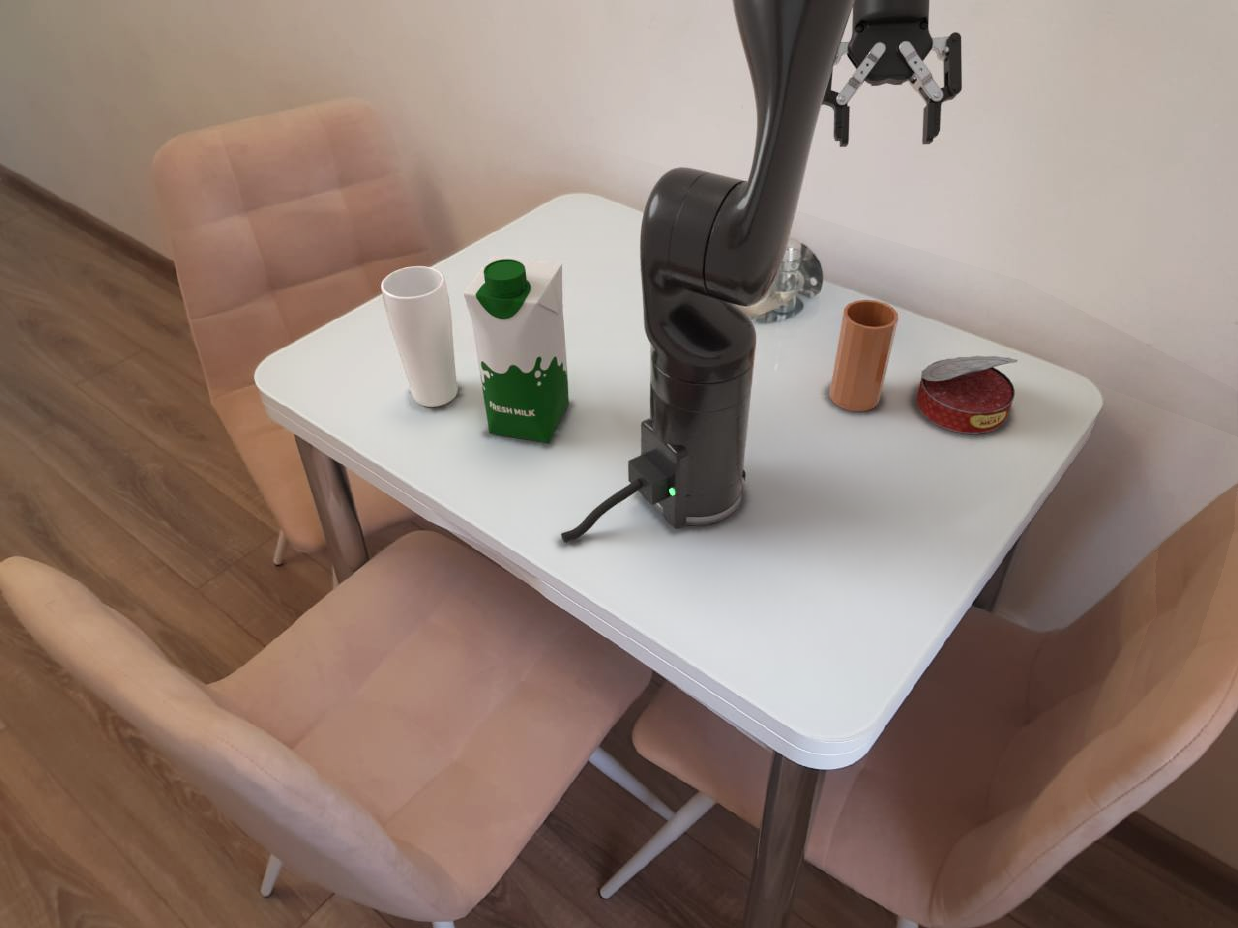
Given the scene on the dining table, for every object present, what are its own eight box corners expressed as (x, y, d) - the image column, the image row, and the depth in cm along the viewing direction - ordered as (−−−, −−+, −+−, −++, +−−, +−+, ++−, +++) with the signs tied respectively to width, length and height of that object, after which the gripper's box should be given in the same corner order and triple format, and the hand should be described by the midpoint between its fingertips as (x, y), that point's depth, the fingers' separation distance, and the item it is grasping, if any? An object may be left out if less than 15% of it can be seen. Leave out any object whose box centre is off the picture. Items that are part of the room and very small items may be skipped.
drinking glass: (402, 383, 104) (376, 271, 94) (459, 372, 105) (440, 260, 95) (410, 418, 99) (383, 303, 89) (469, 406, 101) (450, 291, 91)
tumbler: (853, 417, 98) (870, 334, 90) (818, 392, 101) (832, 310, 94) (889, 400, 100) (909, 317, 93) (854, 375, 104) (870, 294, 96)
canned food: (923, 456, 100) (895, 392, 94) (932, 396, 106) (906, 332, 100) (1031, 441, 93) (1008, 372, 88) (1034, 378, 99) (1012, 310, 94)
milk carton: (478, 437, 97) (451, 276, 83) (508, 388, 103) (487, 231, 90) (554, 450, 95) (539, 287, 81) (579, 400, 101) (569, 241, 88)
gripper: (824, -32, 87) (820, 139, 90) (974, -41, 85) (966, 134, 88) (816, -4, 95) (813, 153, 97) (954, -12, 93) (947, 149, 95)
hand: (885, 144), depth 92 cm, fingers open, 8 cm apart
